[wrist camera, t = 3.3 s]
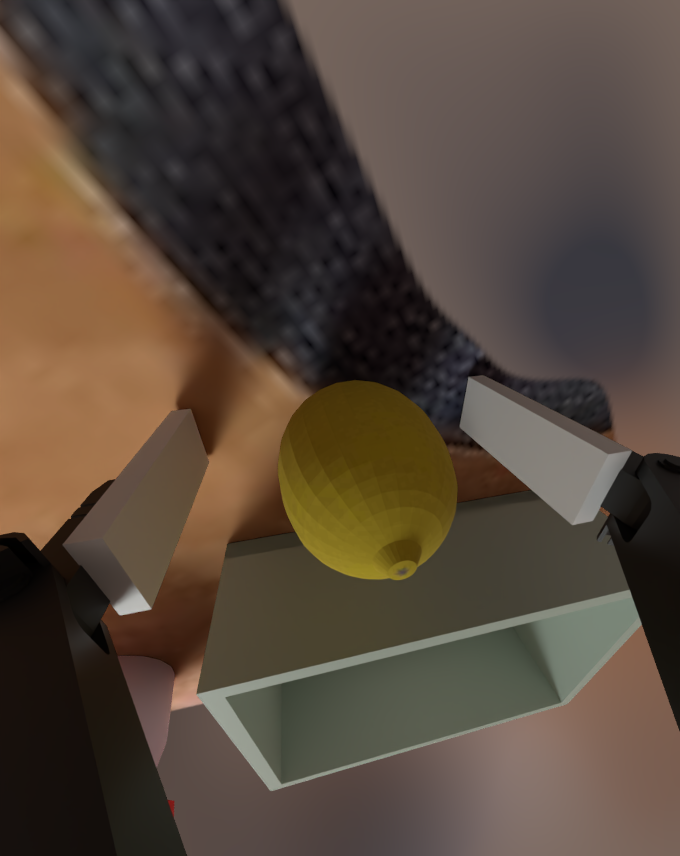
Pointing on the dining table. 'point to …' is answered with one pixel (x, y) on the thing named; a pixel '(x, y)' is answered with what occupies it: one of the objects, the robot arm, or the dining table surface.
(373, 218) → the dining table surface
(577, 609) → the crate
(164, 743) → the mushroom
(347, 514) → the lemon
